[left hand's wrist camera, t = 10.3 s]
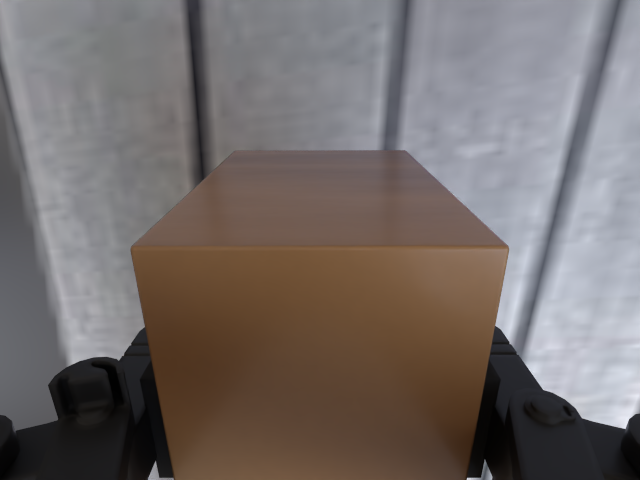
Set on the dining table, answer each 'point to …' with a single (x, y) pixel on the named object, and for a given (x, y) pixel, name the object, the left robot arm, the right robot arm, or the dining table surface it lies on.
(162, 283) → the bar
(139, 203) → the dining table surface
